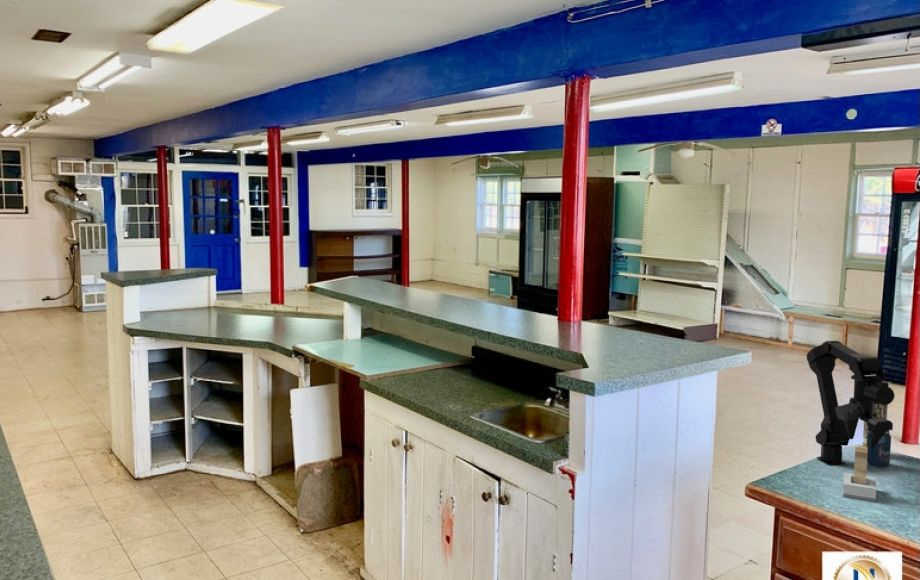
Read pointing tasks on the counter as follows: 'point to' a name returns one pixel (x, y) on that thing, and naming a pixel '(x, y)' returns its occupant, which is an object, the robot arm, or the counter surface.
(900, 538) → the counter surface
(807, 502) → the counter surface
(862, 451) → the slat
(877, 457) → the soda can
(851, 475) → the end cap
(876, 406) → the bark log
